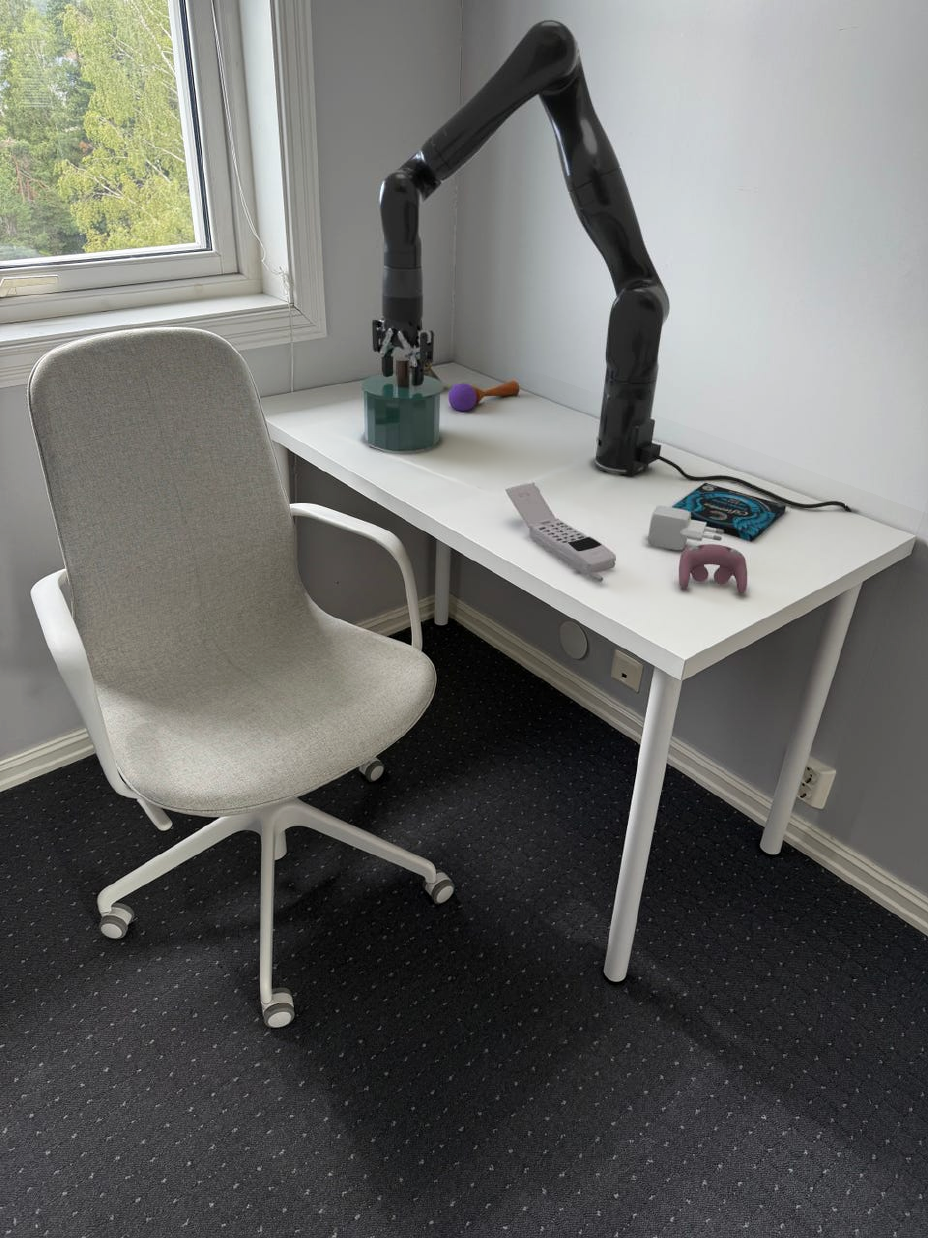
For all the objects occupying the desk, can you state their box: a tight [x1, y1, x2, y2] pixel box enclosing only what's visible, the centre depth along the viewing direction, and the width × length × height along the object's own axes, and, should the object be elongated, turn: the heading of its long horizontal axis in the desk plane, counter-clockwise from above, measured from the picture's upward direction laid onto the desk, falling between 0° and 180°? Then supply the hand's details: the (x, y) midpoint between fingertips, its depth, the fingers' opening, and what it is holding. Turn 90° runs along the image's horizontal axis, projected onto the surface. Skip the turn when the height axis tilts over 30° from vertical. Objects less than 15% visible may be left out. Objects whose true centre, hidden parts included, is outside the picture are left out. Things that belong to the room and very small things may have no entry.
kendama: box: [448, 380, 521, 412], centre depth 200 cm, size 6×6×20 cm
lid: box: [360, 356, 445, 401], centre depth 174 cm, size 16×16×6 cm
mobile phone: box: [504, 482, 617, 583], centre depth 142 cm, size 6×6×25 cm
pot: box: [363, 391, 441, 453], centre depth 178 cm, size 15×15×10 cm
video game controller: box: [678, 543, 748, 595], centre depth 134 cm, size 10×5×7 cm, turn 84°
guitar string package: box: [671, 482, 787, 543], centre depth 156 cm, size 15×1×15 cm
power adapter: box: [647, 505, 725, 551], centre depth 143 cm, size 11×5×6 cm, turn 69°
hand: (402, 380), depth 175 cm, fingers open, 7 cm apart
